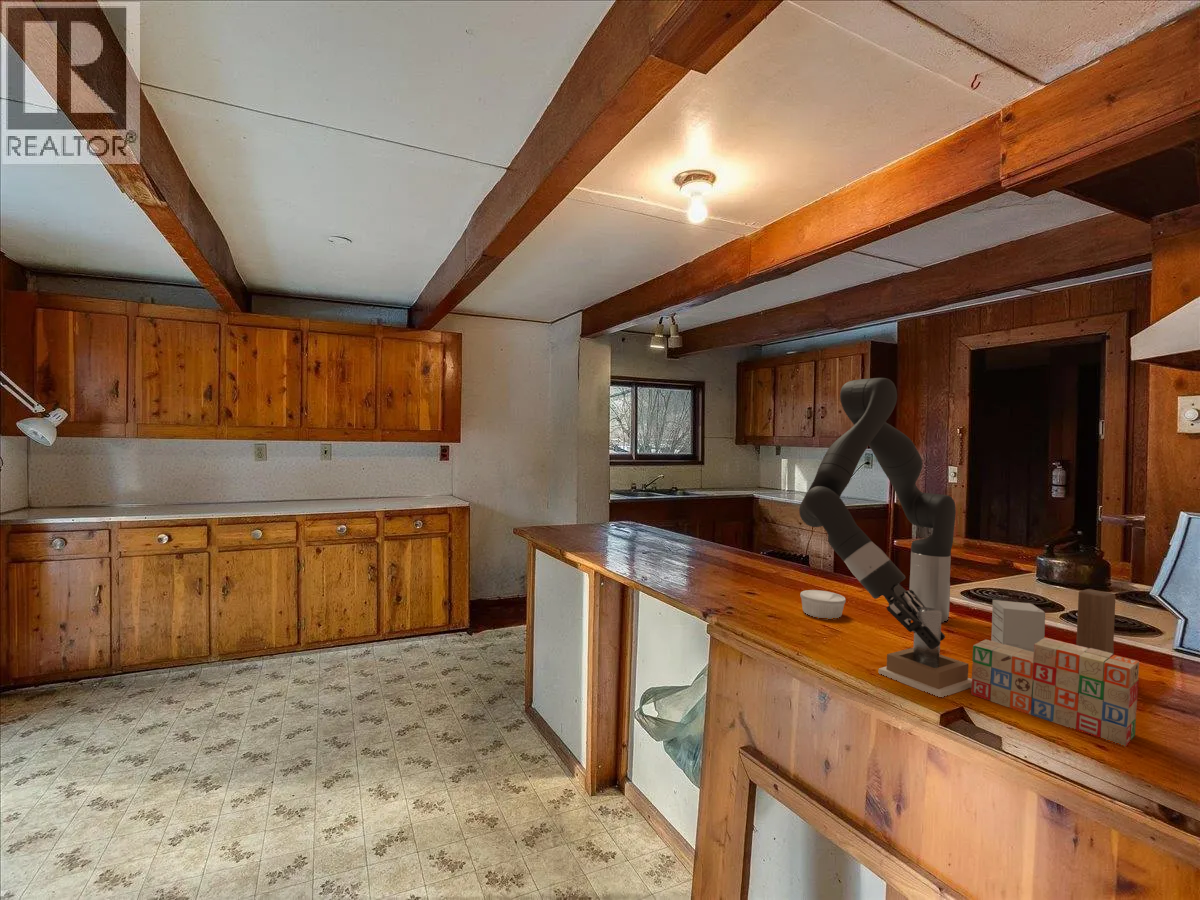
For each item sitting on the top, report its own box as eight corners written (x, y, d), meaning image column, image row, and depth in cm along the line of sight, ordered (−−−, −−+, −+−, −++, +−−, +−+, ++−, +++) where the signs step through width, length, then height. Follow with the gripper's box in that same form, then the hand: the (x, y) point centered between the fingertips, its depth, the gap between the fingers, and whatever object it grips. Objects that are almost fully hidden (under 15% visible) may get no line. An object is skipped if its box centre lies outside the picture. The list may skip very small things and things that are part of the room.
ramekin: (852, 622, 146) (852, 601, 146) (808, 620, 146) (809, 600, 146) (834, 609, 157) (835, 590, 157) (794, 608, 157) (794, 589, 157)
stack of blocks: (969, 695, 103) (972, 628, 103) (983, 687, 107) (986, 622, 107) (1127, 748, 86) (1131, 667, 86) (1136, 736, 90) (1140, 659, 90)
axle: (920, 661, 113) (923, 605, 113) (943, 669, 109) (946, 612, 109) (907, 664, 111) (910, 608, 110) (930, 673, 107) (933, 614, 107)
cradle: (913, 663, 118) (914, 644, 118) (975, 685, 108) (976, 664, 108) (878, 673, 112) (879, 653, 112) (940, 698, 102) (941, 675, 101)
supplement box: (1029, 661, 122) (1032, 602, 122) (1044, 674, 115) (1046, 612, 115) (989, 656, 124) (991, 598, 124) (1001, 668, 117) (1003, 607, 117)
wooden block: (1092, 674, 116) (1096, 586, 116) (1121, 682, 112) (1125, 591, 112) (1073, 682, 111) (1077, 590, 111) (1103, 691, 107) (1107, 596, 107)
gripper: (879, 563, 109) (949, 642, 101) (896, 554, 120) (961, 624, 112) (849, 585, 112) (914, 663, 105) (868, 574, 123) (929, 644, 116)
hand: (938, 643), depth 109 cm, fingers closed on axle, 4 cm apart
